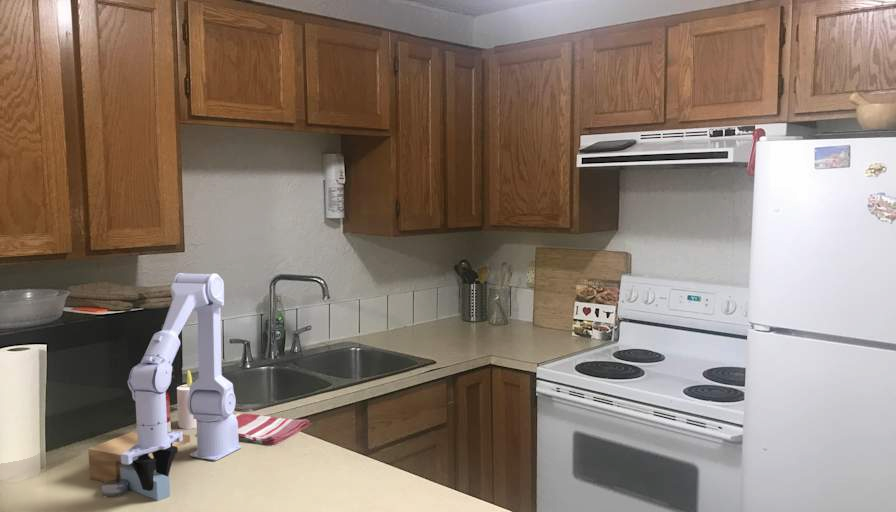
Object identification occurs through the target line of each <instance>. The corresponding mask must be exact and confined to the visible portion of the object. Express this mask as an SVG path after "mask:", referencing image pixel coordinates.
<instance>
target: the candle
mask: <svg viewBox="0 0 896 512" xmlns="http://www.w3.org/2000/svg"><path fill="white" fill-rule="evenodd" d="M192 383H193V377H192V373H191V371H190V370H189V369H187V370H186V384H182V385H179V386H177V387H176V399H177V400H176V401H177V419H178V420H177V422H178V423H177V424H178V428H179V427H180V428H179V429H181V428H183V429H182V430H192V428H193V429H197V423H196V419H193V415H192V414H190V412H189V410H188V407H187V400H188V397H189V391H190V385H191V384H192Z"/></svg>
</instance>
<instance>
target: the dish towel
mask: <svg viewBox="0 0 896 512" xmlns="http://www.w3.org/2000/svg"><path fill="white" fill-rule="evenodd" d="M233 414H234V415H235V417H236V418H237V421H238V440H239V442H243V443H253V444H257V445H258V444H260V445H268V446H272V445H275V446H276V444H277V445H278V444H280V443H282V442H284V441H285V440H287V439H289V438H290V436H291V437H292V436H293V435H296V434H297V433H299V432H300V431H301V430H304V429H306V428H308V427H309V426H310V420H309V419H304V418H303V419H294V418H293V419H290V418H281V417H275V416H268V415H267V416H265V415H261V414H252V413H237V412H236V413H233ZM281 441H282V442H281ZM279 442H280V443H279Z"/></svg>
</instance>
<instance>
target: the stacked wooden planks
mask: <svg viewBox="0 0 896 512" xmlns="http://www.w3.org/2000/svg"><path fill="white" fill-rule="evenodd" d="M171 432H172V431H171ZM171 432H167V433H171ZM190 442H191V435H190V434H184V433H183V441H181V442H175V443H173V444H172V446H176V447H177V448H180V447H182V446H184V445H185V444H186V445H187V444H188V443H190ZM137 443H138V438H137V429H135V430H133V431H130V432H128V433H124V434H123V435H120V436H116V437H115V438H112V439H110V440H107V441H105V442H102V443H99V444H97V445H95V446H91V447H89V448H88V449H87V451H88V453H87V454H88V468H89V469H88V471H89V479H90V478H91V479H92V480H94V479H96V481H99V480H101V482H104V481H105V482H107V481H110V480H114V479H121V474H120V467H122V466H125V465H128V464H123V463H121V454H122V453H124V452H126V451H127V450H129V449H130V448H132V447H133V446H134V445H136V444H137ZM149 456H150V458H153V459H154V457H153V454H152V453H150V454H149ZM154 468H156V466H154ZM91 479H90V480H91ZM105 482H104V483H105Z"/></svg>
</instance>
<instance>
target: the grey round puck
mask: <svg viewBox="0 0 896 512" xmlns="http://www.w3.org/2000/svg"><path fill="white" fill-rule="evenodd" d="M128 492H129V488H128V481H127V480H126V479H114V480H110V481H107V482H103V483H102V485H101V496H103V497H104V496H106V497H105V498H116V497H120V496H122V495H125V494H126V493H128Z"/></svg>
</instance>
